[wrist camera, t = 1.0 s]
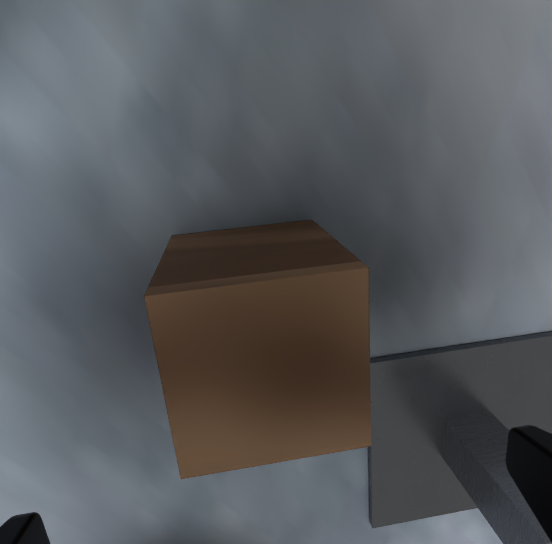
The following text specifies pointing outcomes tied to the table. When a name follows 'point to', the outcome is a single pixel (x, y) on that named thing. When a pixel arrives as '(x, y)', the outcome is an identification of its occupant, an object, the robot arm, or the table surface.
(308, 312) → the cardboard carton
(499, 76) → the table surface
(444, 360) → the gray square base stand
